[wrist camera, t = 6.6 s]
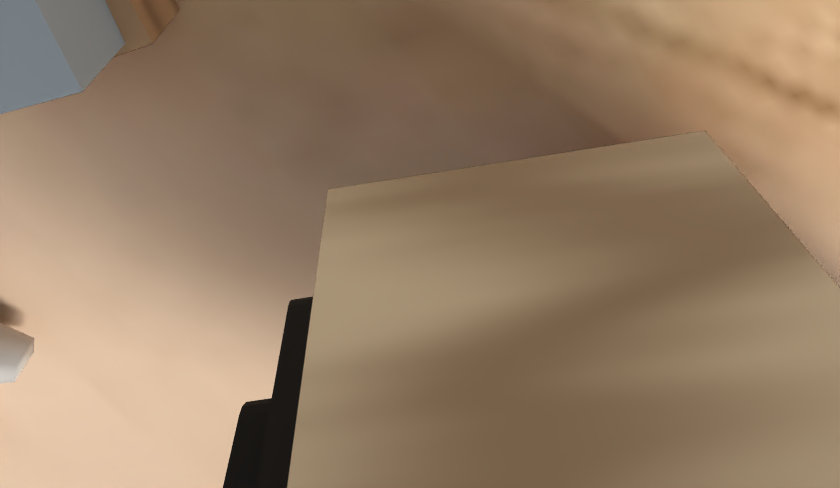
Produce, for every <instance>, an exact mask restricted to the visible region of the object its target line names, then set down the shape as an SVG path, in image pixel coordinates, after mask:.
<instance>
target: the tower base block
mask: <svg viewBox="0 0 840 488" xmlns="http://www.w3.org/2000/svg"><path fill="white" fill-rule="evenodd" d="M105 1H106V3H107V5H108V7H109V10H110V12H111V14H112V16H113V18H114V20H115V22H116V24H117V26H118V29H119V31H120V33H121V35H122V37H123V39H124V41H125V44H124V46H123V47H122V48H121V49H120V50H119V51H118V52H117V53H116V55H115V56H114V57H116V56H119V55H122V54H124V53H127V52H130V51H133V50H136V49H139V48H141V47H144V46H147V45H150V44H153V42H154V41H155V40H156V39H157V37H158V36H159V35H160V34H161V32H162V31H163V30H164V29H165V27H166V26H167V25H168V24H169V22H170V21H171V20H172V19H173V17H174V16H175V15H176V14H177V12H178V11H179V10H180V9H179V7H178V5H177V3H176V1H175V0H105Z"/></svg>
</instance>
